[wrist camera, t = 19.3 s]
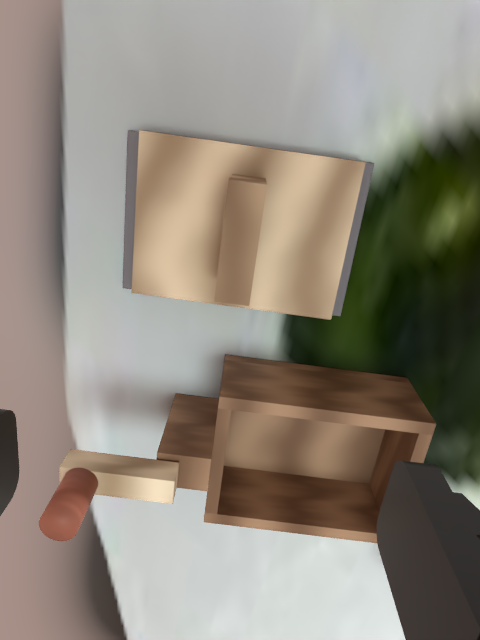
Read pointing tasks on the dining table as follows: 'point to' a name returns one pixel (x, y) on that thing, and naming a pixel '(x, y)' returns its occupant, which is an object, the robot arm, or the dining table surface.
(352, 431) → the toolbox
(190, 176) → the lid
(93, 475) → the wooden block with peg
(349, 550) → the dining table surface
